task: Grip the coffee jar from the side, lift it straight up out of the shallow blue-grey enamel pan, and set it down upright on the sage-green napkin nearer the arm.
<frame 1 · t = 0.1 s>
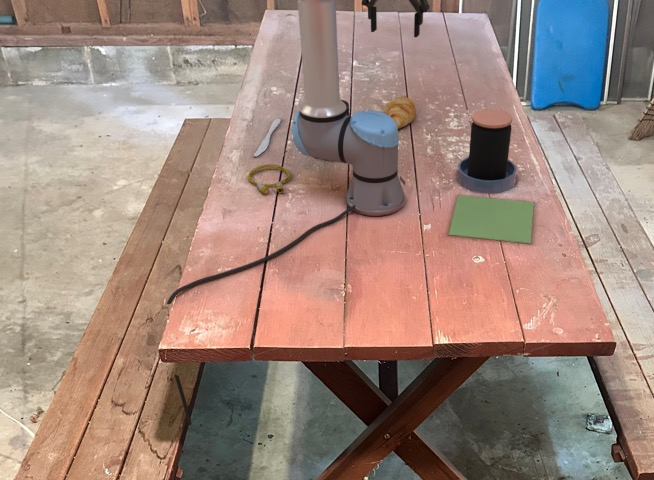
hand: (395, 33, 207), 28 cm above the table, tool pointing down, fingers open, 13 cm apart
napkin: (492, 218, 179), on the table
butter knife: (268, 138, 216), on the table
coffee jar: (486, 179, 195), resting on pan
croissant: (399, 119, 228), on the table
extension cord: (268, 181, 194), on the table
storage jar: (334, 154, 207), on the table
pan: (486, 179, 195), on the table
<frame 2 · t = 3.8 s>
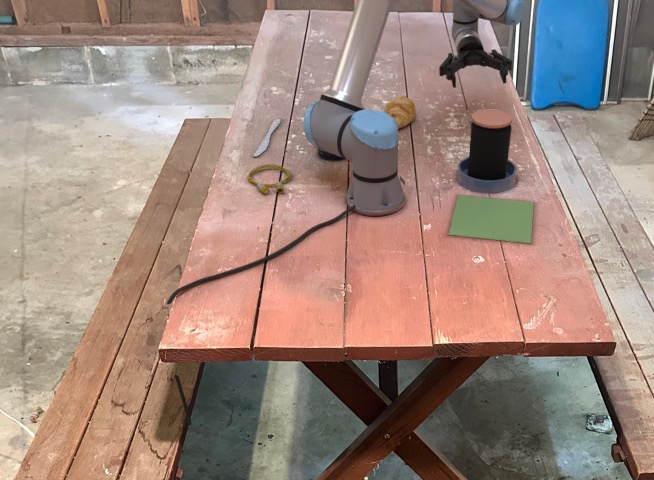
hand: (479, 80, 188), 24 cm above the table, tool horizontal, fingers open, 13 cm apart
nothing on the table moved.
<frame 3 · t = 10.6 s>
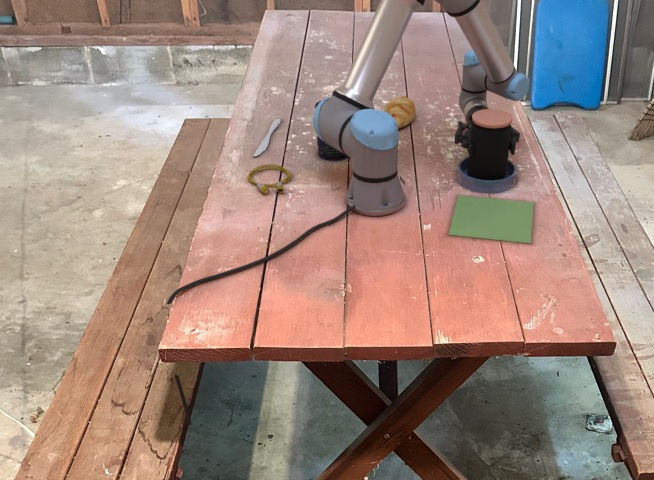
hand: (492, 150, 185), 10 cm above the table, tool horizontal, fingers closed on coffee jar, 11 cm apart
coffee jar: (486, 179, 195), resting on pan, touching gripper
everything else where it was.
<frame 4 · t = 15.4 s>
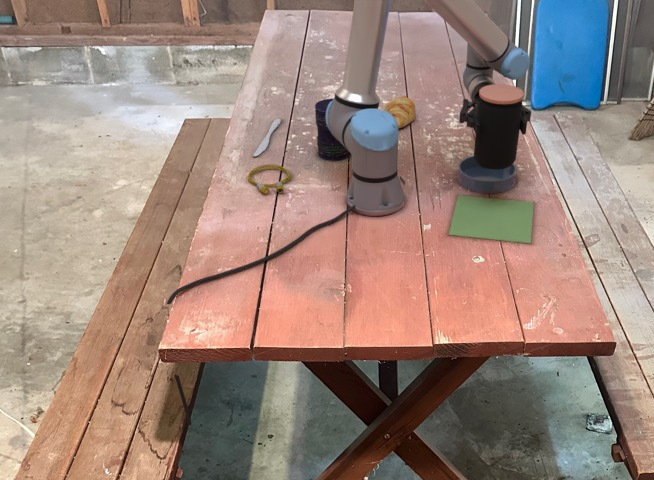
hand: (501, 129, 169), 22 cm above the table, tool horizontal, fingers closed on coffee jar, 11 cm apart
coffee jar: (494, 161, 178), point 11 cm above the table, touching gripper
everything else where it was.
when the fingers open (10 cm above the table, at t = 20.5 s): coffee jar stays where it is, resting on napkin.
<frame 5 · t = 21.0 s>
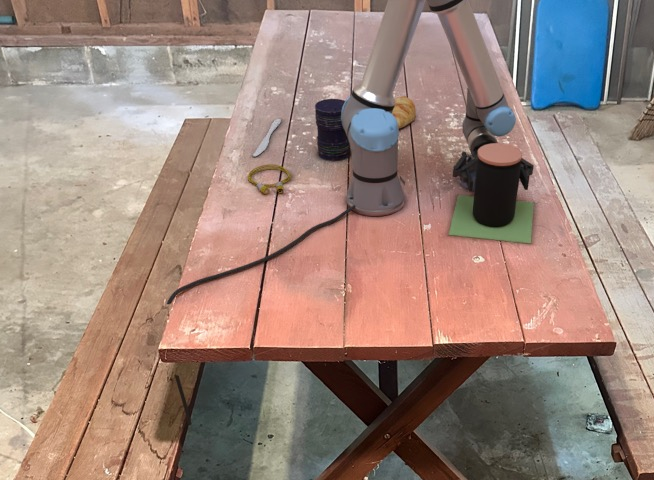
hand: (499, 185, 169), 11 cm above the table, tool horizontal, fingers open, 13 cm apart
coffee jar: (492, 218, 178), resting on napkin
everything else where it was.
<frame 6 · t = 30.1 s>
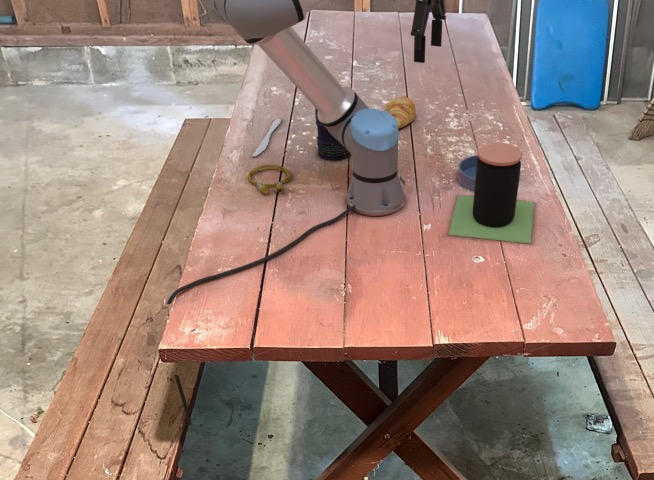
hand: (427, 53, 182), 32 cm above the table, tool pointing down, fingers open, 13 cm apart
nothing on the table moved.
at the end: coffee jar inside the target area on the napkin (0.1 cm from its centre), point 0.1 cm above the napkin's base; coffee jar tilted 0°; the gripper is holding nothing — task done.
